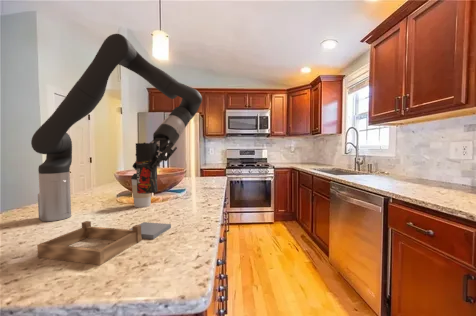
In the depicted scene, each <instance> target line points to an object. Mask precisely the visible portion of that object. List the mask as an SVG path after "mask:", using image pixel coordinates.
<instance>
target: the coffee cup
mask: <svg viewBox="0 0 476 316" xmlns="http://www.w3.org/2000/svg"><path fill="white" fill-rule="evenodd" d="M130 180H131V189H132V191H131V192H132V198H133V204H134V207H135V208H147V207H150V206H151V203H152V202H151V201H152V200H151V199H152V193H149V194H139V193H137V172H136V173H133V175H132V176H131V177H130Z"/></svg>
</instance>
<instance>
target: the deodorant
mask: <svg viewBox="0 0 476 316" xmlns="http://www.w3.org/2000/svg"><path fill="white" fill-rule="evenodd" d="M135 154H136V155H135V162H136V170H135V171H136V173H137V193H139V194H149V193H151V194H154V193H157V192H158V166H157V167H156V168H155V169H154V171H150V170H149V169H148V168H147V166H148V165H149V163H150V162H151V161H152V159H153V158H155V154H156V143H150V142H139V143H135Z"/></svg>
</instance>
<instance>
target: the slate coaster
mask: <svg viewBox="0 0 476 316" xmlns="http://www.w3.org/2000/svg"><path fill="white" fill-rule="evenodd" d="M138 225H141V239H147V240H155V239H156V238H158V237H159V236H160V235H162V234H164V233H165V232H167V231H168V230H170V229H171V228H172V224H171V223H163V222H162V223H160V222H159V223H158V222H148V221H147V222H146V221H143V222H141V223H138ZM128 230H132V228H130V229H129V228H128Z"/></svg>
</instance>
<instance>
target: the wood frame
mask: <svg viewBox="0 0 476 316" xmlns="http://www.w3.org/2000/svg"><path fill="white" fill-rule="evenodd" d="M84 239H97V240H99V239H100V240H108V241H113V242H111V243H110V244H108V245H106V246H104V247H102V248H99V249H98V248H89V247H80V246H71V245H72V244H76V243H78V242H80V241H82V240H84ZM142 241H143V240H142V238H141V225H139V224H135V225H133V226H132V230H129V228H128V229H125V228H114V227H113V228H112V227H102V226H100V227H99V226H92V223H91V221H89V220H87V221H83V222H81V227H80V228H78V229H76V230H72V231H71V232H67V233H64V234H63V235H59V236H57V237H54V238H52V239H48V240H47V241H46V240H45V241H43V242H40V243H39V244H36V245H37V258H42V259H51V260H58V261H66V262H67V261H68V262H75V263H82V264H90V265H99V266H101V265H103V264H105V263H106V262H109V261H110V260H112V259H113V258H114V257H116V256H118V255H120V254H121V253H123V252H124V251H126V250H127V249H129V248H130V247H133V246H134V245H135V244H138V243H140V242H142Z"/></svg>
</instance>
